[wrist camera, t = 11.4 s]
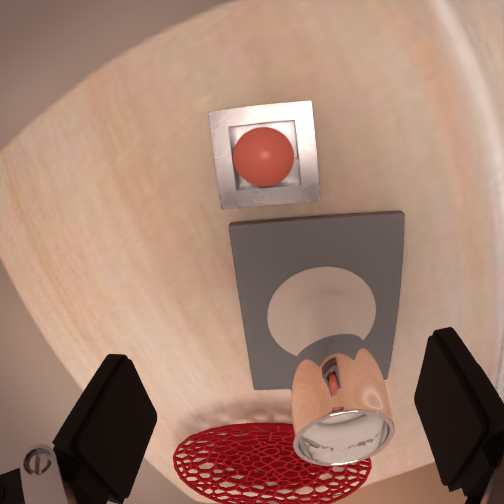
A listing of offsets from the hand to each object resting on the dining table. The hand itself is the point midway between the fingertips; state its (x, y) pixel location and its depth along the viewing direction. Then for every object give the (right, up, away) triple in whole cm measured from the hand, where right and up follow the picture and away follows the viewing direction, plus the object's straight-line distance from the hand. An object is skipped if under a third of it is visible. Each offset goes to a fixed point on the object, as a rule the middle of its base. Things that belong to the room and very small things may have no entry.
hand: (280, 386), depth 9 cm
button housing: (0, +13, +18) cm, 22 cm away
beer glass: (+6, -2, +22) cm, 23 cm away
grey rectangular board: (+6, -2, +23) cm, 24 cm away
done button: (0, +12, +16) cm, 20 cm away
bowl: (+2, -28, +33) cm, 43 cm away
